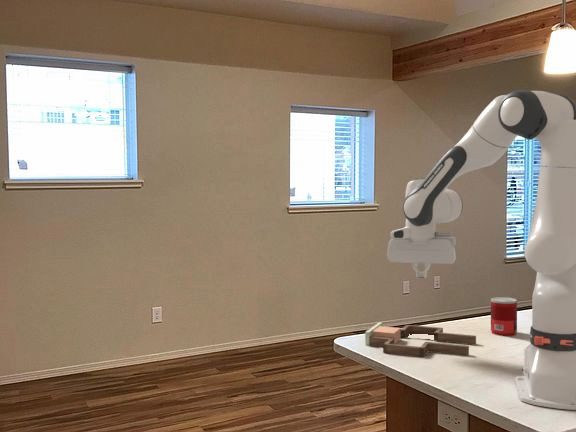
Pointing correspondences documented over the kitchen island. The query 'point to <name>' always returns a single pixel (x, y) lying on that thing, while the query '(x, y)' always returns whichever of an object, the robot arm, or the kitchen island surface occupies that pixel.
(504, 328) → the canned food
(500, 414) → the kitchen island surface
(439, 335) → the box
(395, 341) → the block
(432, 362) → the kitchen island surface
